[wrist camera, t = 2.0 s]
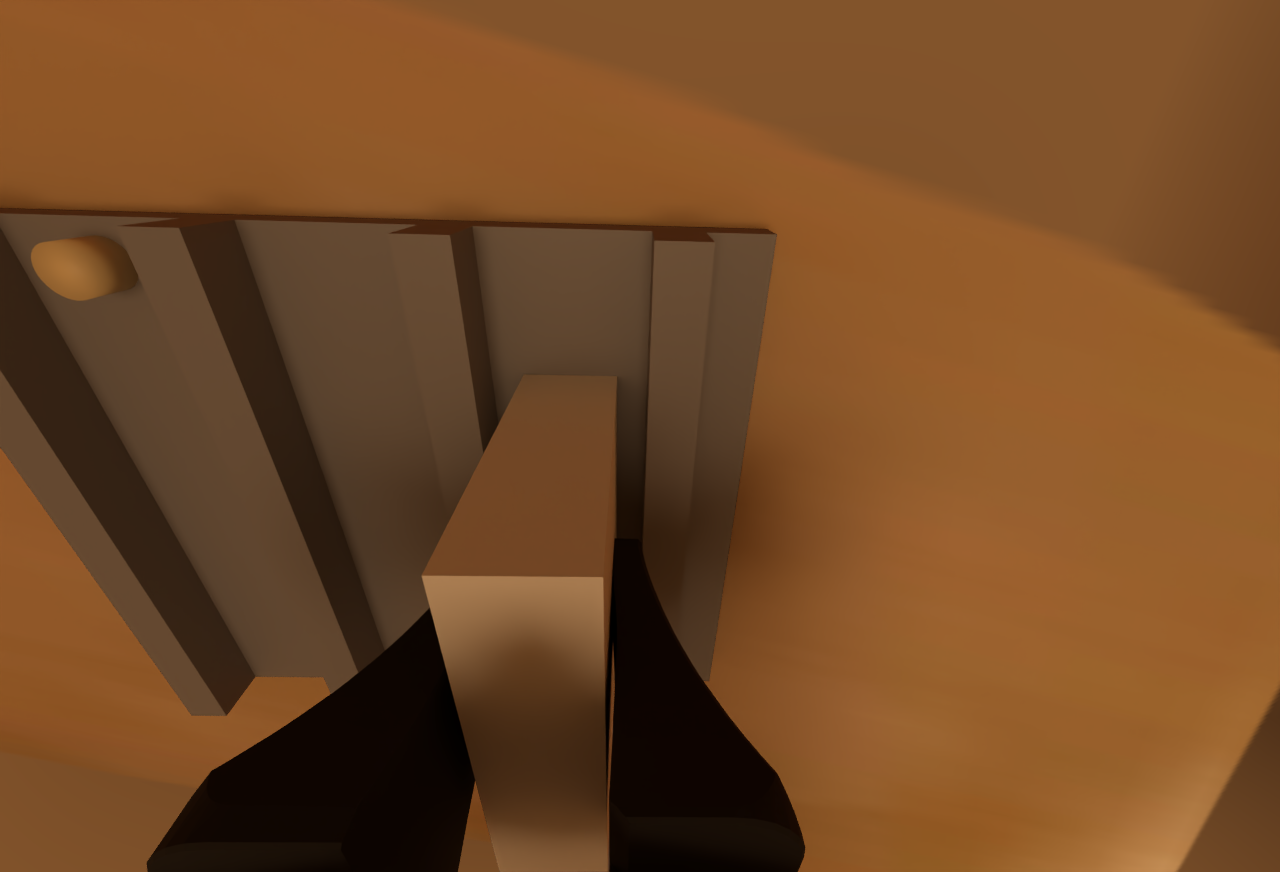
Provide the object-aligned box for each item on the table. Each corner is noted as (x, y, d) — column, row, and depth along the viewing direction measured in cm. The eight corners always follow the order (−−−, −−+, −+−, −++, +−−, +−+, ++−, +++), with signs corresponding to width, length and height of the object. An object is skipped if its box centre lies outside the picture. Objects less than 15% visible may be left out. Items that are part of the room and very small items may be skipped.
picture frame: (616, 616, 17) (607, 871, 11) (543, 616, 17) (493, 872, 11) (617, 375, 13) (603, 576, 7) (518, 374, 13) (411, 575, 6)
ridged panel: (706, 657, 20) (714, 719, 18) (200, 652, 19) (145, 714, 17) (766, 228, 12) (796, 244, 10) (-82, 205, 11) (-250, 216, 9)
